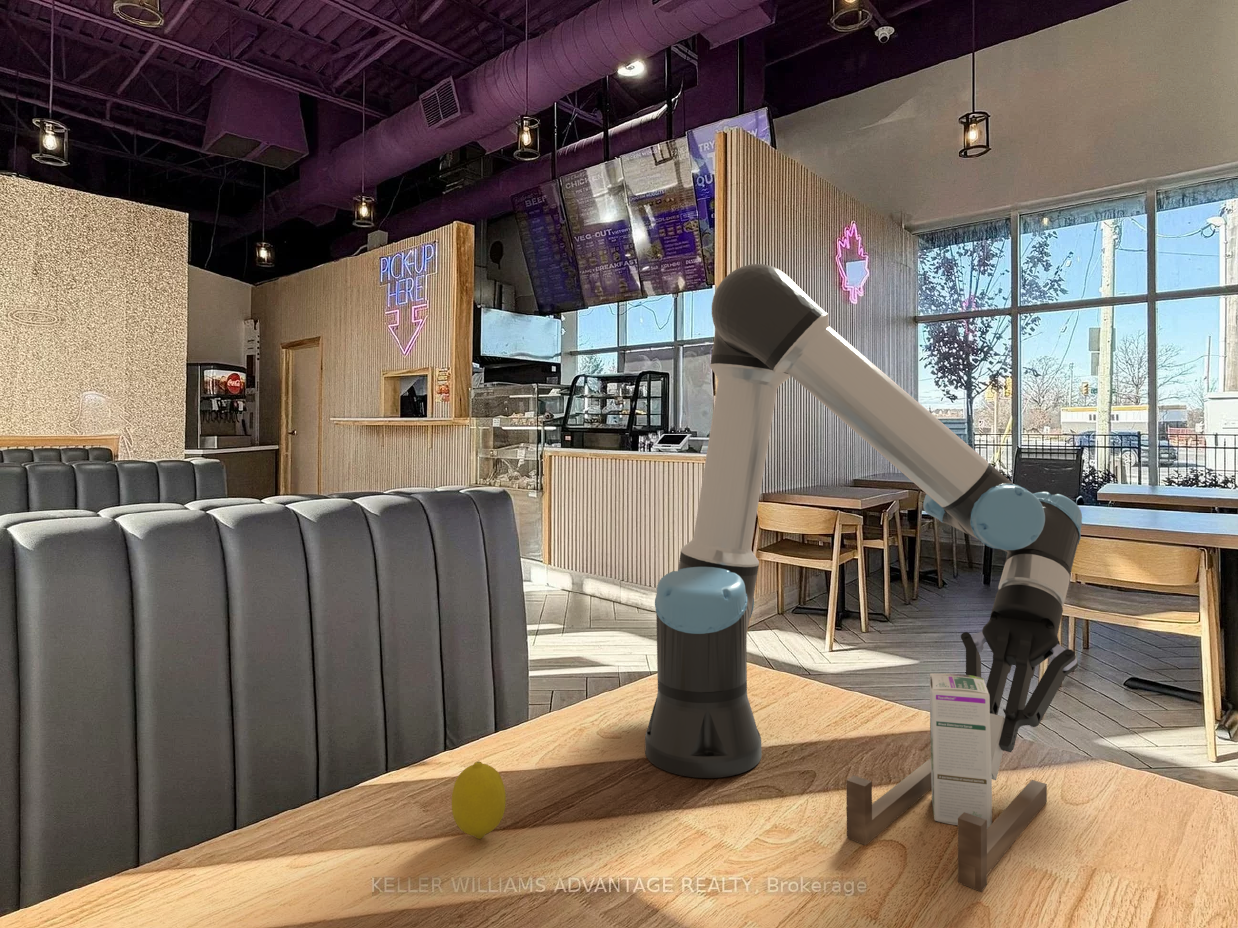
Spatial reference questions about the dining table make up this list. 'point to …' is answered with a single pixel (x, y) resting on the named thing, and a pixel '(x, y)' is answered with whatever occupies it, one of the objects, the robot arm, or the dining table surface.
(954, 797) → the syrup box
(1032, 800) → the brown wooden rack
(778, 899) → the dining table surface
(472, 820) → the lemon
